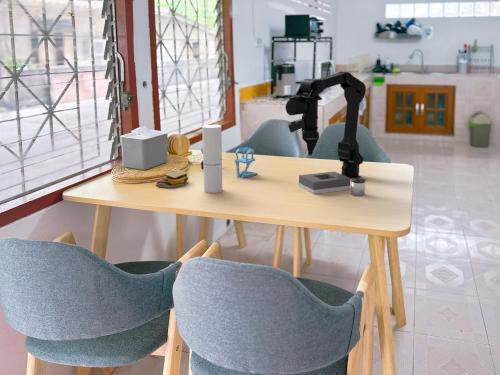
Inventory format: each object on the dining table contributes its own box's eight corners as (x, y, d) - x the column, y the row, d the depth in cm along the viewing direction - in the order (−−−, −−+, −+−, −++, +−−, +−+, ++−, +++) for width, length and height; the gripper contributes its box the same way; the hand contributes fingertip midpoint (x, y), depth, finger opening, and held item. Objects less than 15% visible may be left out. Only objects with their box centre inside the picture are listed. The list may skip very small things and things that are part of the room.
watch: (200, 169, 245) (200, 145, 242) (203, 165, 253) (202, 142, 250) (213, 170, 245) (212, 145, 242) (215, 165, 253) (214, 142, 250)
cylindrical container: (225, 188, 214) (224, 125, 208) (218, 193, 208) (216, 128, 201) (208, 187, 217) (206, 124, 210) (201, 191, 210) (199, 127, 203)
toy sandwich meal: (150, 183, 223) (150, 172, 222) (180, 179, 231) (180, 168, 229) (164, 190, 213) (163, 178, 212) (194, 185, 221) (194, 173, 219)
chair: (232, 176, 233) (231, 149, 230) (242, 172, 240) (242, 145, 237) (247, 178, 229) (247, 150, 226) (257, 174, 236) (257, 147, 233)
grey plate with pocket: (333, 182, 223) (334, 171, 222) (349, 189, 212) (350, 178, 211) (298, 186, 217) (299, 175, 216) (313, 194, 206) (313, 182, 205)
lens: (359, 192, 209) (360, 176, 207) (367, 195, 204) (367, 179, 203) (348, 193, 207) (349, 178, 205) (355, 196, 202) (356, 181, 201)
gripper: (289, 109, 218) (289, 148, 223) (288, 116, 201) (288, 158, 205) (317, 109, 218) (316, 148, 222) (319, 116, 200) (318, 158, 204)
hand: (309, 152), depth 213 cm, fingers open, 9 cm apart
